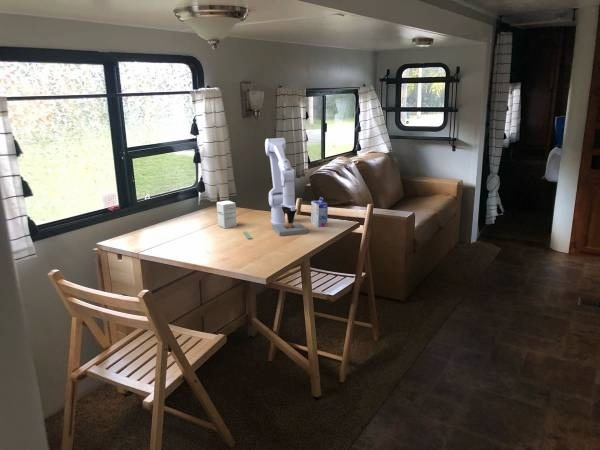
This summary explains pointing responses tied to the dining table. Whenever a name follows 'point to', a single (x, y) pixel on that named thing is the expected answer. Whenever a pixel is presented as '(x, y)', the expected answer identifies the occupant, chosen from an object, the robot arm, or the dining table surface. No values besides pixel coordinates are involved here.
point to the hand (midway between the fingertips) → (289, 221)
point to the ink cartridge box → (319, 213)
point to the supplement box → (226, 214)
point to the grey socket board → (289, 229)
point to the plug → (287, 225)
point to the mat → (247, 235)
